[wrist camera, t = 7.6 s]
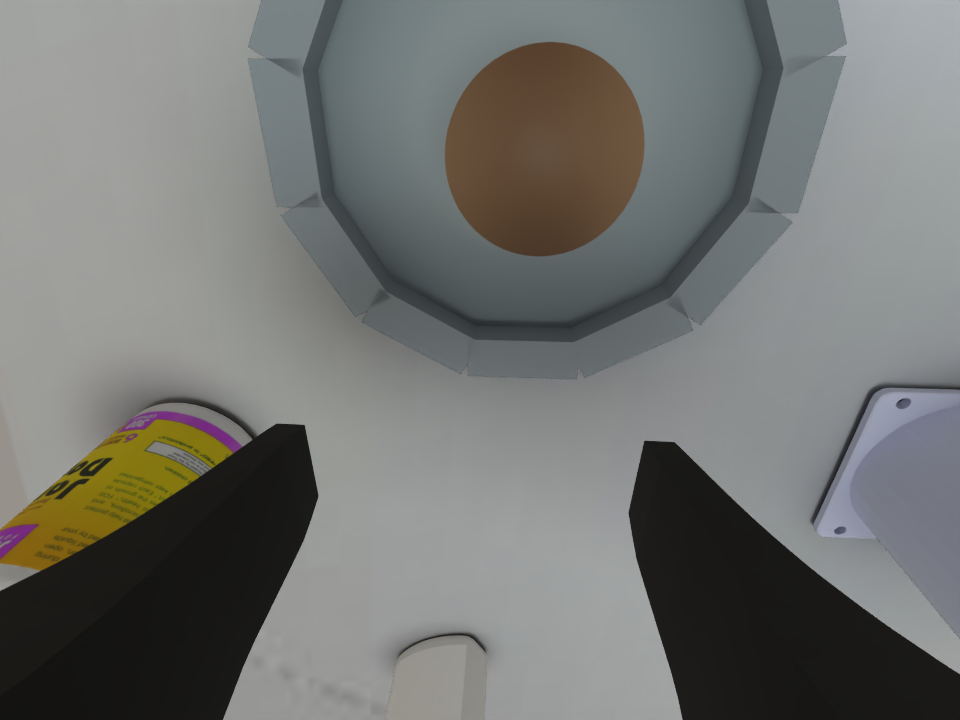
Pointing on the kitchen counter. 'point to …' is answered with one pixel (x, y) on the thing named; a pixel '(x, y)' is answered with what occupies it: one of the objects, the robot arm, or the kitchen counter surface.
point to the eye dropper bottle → (439, 681)
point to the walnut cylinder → (544, 149)
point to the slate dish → (558, 278)
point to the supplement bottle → (117, 484)
